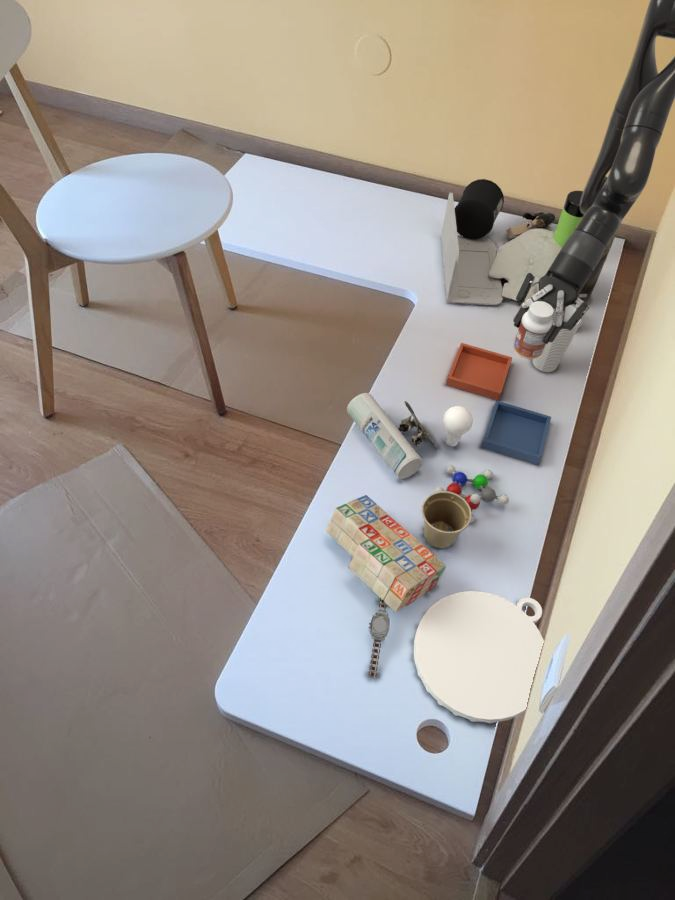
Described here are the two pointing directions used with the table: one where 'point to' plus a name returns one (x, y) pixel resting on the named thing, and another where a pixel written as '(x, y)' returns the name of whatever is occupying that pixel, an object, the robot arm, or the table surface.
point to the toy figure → (531, 223)
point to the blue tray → (516, 432)
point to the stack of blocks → (384, 553)
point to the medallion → (479, 654)
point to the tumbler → (569, 217)
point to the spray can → (384, 435)
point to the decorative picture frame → (410, 424)
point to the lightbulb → (457, 423)
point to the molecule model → (479, 482)
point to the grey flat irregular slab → (525, 260)
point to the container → (478, 209)
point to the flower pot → (444, 518)
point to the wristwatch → (378, 634)
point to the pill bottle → (533, 330)
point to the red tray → (479, 371)
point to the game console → (468, 265)
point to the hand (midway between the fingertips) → (530, 334)
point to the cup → (557, 344)
